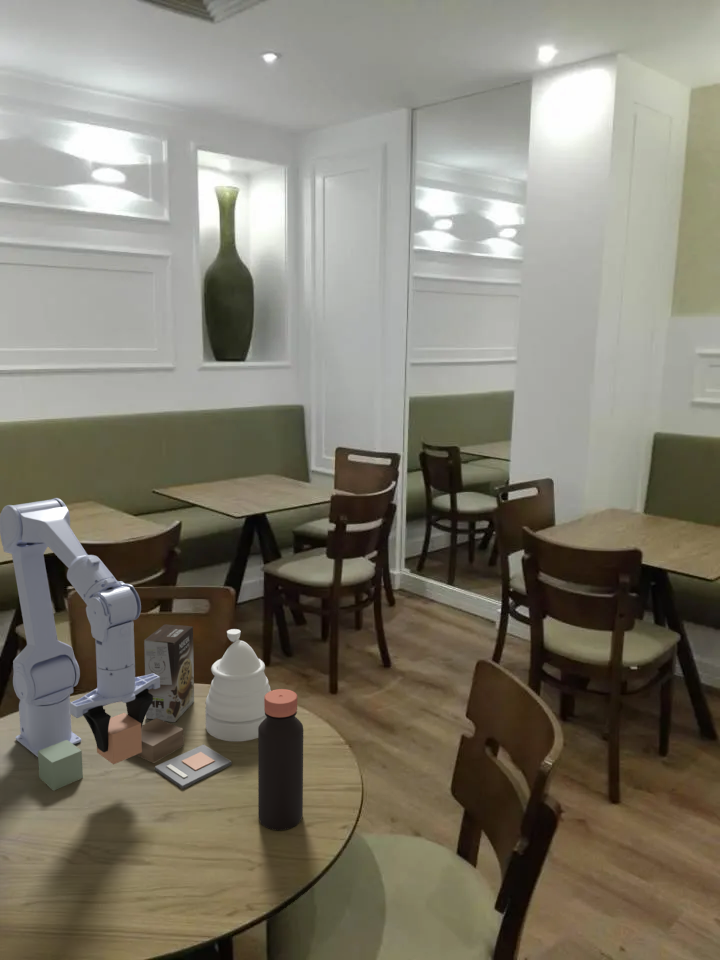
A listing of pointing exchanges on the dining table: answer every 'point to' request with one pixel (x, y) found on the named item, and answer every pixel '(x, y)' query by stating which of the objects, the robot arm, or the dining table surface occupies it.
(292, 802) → the bottle
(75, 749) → the sage block
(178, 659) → the coffee box
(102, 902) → the dining table surface
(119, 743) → the terracotta block
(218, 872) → the dining table surface
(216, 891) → the dining table surface
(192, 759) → the card
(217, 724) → the honey pot
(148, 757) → the walnut base
